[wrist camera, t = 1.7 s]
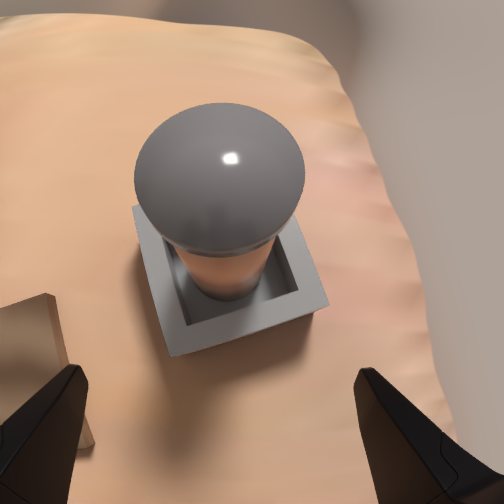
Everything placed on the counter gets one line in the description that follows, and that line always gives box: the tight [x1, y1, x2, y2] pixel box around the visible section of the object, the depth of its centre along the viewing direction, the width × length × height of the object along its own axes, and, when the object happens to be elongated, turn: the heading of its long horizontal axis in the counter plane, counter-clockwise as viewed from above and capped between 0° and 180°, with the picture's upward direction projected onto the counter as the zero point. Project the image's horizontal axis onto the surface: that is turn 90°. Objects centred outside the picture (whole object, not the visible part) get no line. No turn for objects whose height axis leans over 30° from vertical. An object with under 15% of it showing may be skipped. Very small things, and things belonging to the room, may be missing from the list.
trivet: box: [0, 293, 95, 449], centre depth 19 cm, size 12×12×2 cm
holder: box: [132, 204, 329, 357], centre depth 22 cm, size 10×10×4 cm
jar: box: [134, 103, 305, 302], centre depth 16 cm, size 6×6×13 cm
